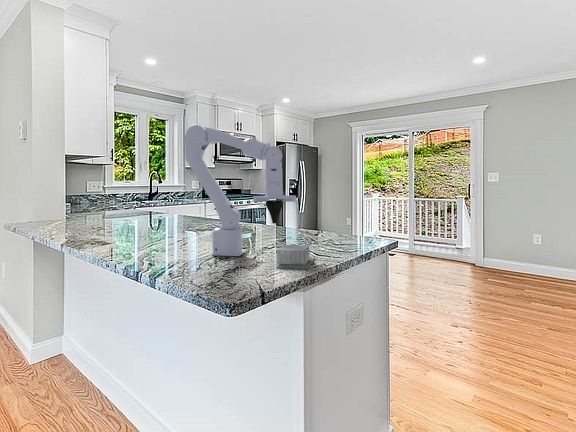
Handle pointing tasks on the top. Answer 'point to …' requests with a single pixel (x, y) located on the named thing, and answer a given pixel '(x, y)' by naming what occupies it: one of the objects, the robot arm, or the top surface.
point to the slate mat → (288, 266)
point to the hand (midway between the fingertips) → (275, 223)
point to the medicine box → (293, 254)
